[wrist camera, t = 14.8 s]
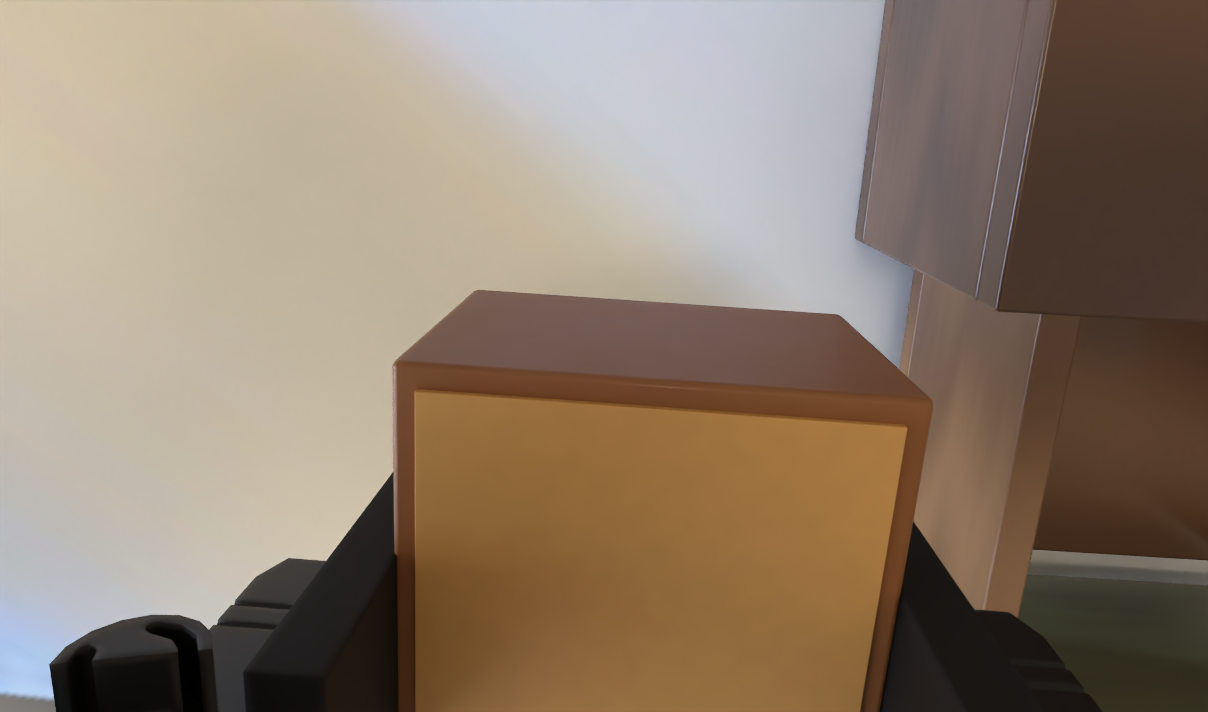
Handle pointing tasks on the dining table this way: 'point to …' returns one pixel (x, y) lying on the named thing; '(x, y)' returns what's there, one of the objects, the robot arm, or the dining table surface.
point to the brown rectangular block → (649, 508)
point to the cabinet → (1045, 153)
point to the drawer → (1070, 481)
